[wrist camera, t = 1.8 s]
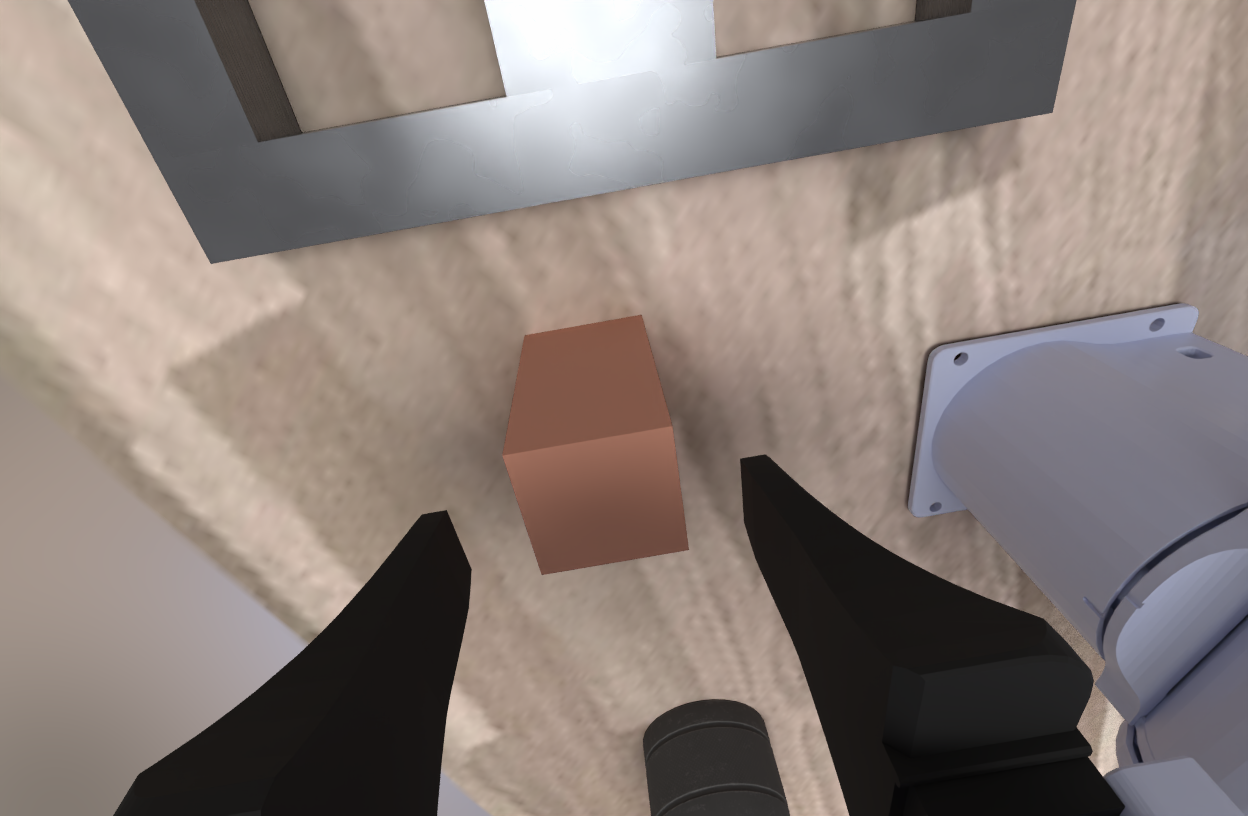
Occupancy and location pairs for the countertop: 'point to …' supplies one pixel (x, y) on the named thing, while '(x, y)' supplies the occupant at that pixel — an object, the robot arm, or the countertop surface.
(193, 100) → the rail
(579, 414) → the square block
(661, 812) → the flashlight
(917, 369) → the countertop surface
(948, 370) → the robot arm
